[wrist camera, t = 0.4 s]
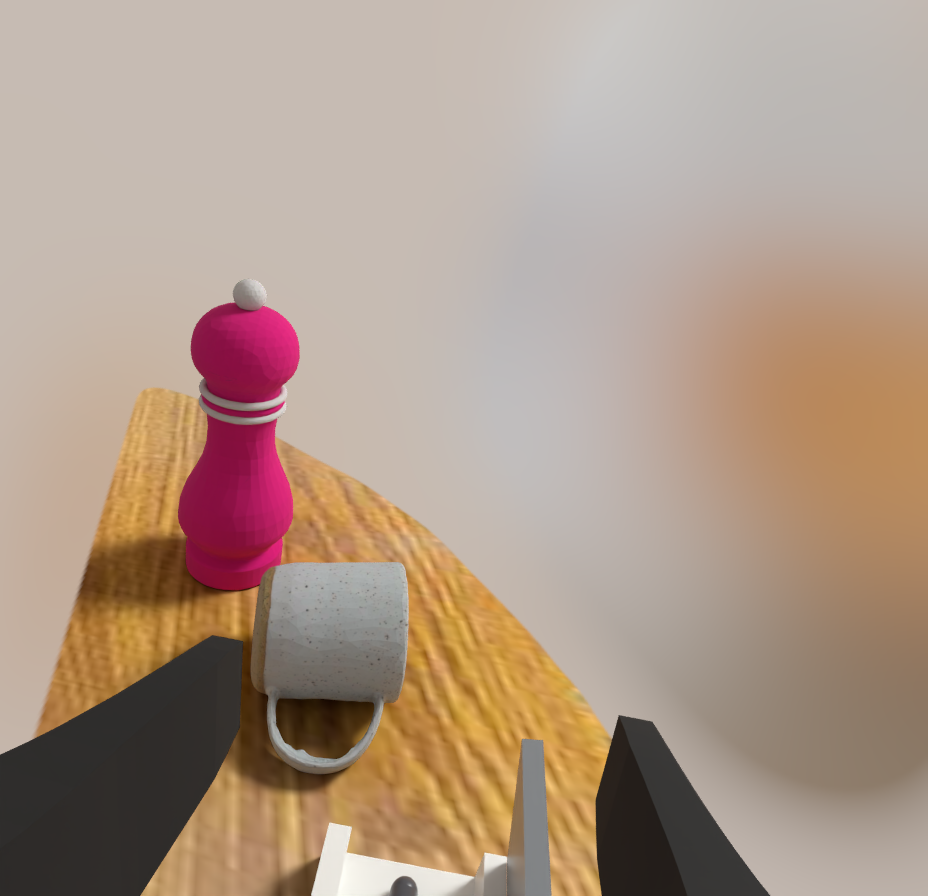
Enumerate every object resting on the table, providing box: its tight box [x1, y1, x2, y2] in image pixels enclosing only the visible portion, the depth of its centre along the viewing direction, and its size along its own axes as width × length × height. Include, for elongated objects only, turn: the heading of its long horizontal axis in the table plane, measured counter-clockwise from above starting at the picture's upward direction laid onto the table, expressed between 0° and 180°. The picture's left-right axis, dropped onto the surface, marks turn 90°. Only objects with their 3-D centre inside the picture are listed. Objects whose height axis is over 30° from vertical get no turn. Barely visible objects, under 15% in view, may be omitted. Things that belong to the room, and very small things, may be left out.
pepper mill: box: [178, 279, 299, 590], centre depth 40 cm, size 7×7×20 cm
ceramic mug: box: [251, 562, 408, 774], centre depth 35 cm, size 11×8×8 cm
